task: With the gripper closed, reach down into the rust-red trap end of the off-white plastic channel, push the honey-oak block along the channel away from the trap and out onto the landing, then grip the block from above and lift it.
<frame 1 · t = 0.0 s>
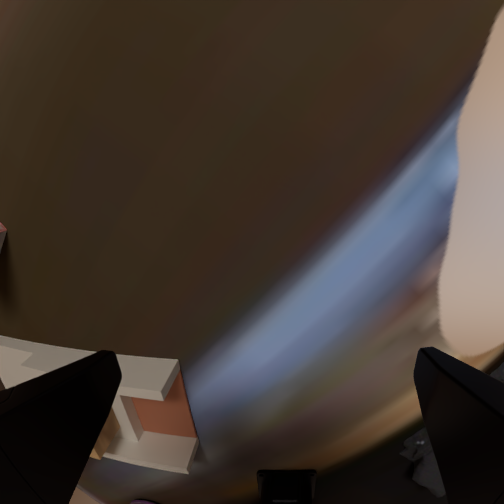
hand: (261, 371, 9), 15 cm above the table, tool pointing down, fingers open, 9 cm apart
trap channel: (101, 393, 29), on the table
oak block: (92, 405, 27), point 2 cm above the table, touching trap channel
dark slate chunk: (489, 414, 26), on the table
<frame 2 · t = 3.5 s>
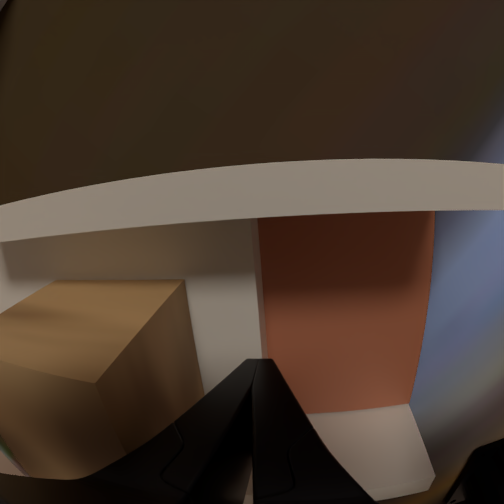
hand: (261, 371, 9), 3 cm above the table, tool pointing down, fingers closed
trap channel: (162, 322, 12), on the table
oak block: (128, 348, 10), point 2 cm above the table, touching gripper
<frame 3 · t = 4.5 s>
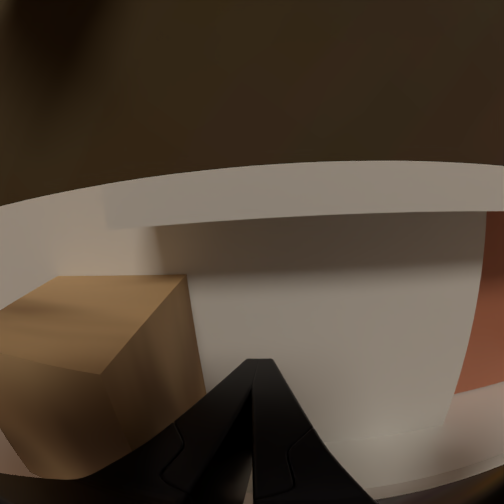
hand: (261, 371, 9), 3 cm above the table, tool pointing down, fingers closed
trap channel: (352, 317, 11), on the table
oak block: (129, 343, 10), point 2 cm above the table, touching gripper
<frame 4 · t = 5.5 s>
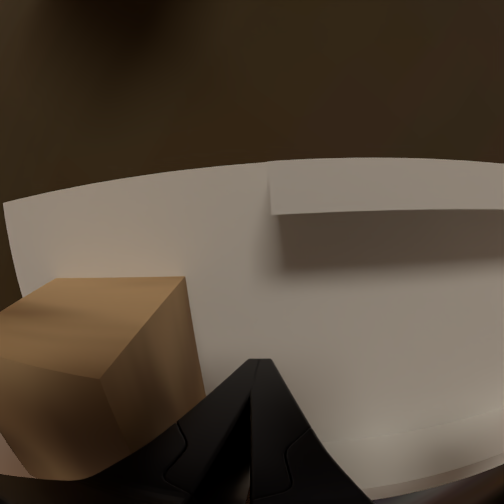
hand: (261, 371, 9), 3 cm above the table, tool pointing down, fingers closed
trap channel: (438, 308, 11), on the table
oak block: (128, 345, 10), point 2 cm above the table, touching gripper, trap channel
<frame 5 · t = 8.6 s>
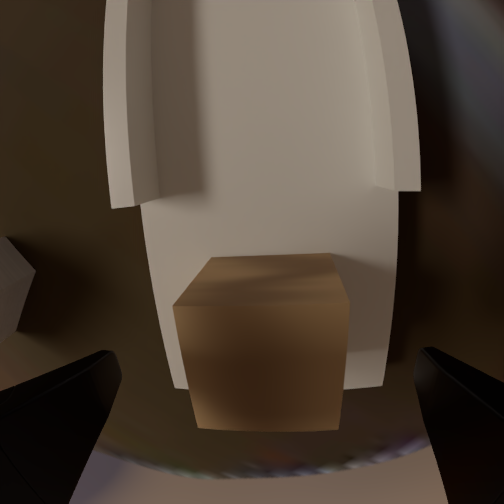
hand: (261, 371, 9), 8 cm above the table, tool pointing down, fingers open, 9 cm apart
trap channel: (258, 62, 13), on the table
grey boxy piece: (11, 285, 19), on the table
oak block: (272, 309, 14), point 2 cm above the table, touching trap channel
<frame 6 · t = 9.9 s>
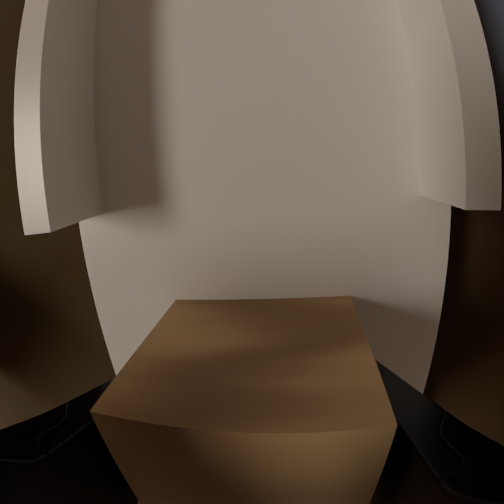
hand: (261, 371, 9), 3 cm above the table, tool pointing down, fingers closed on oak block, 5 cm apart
trap channel: (246, 20, 9), on the table
oak block: (265, 371, 10), point 2 cm above the table, touching gripper, trap channel
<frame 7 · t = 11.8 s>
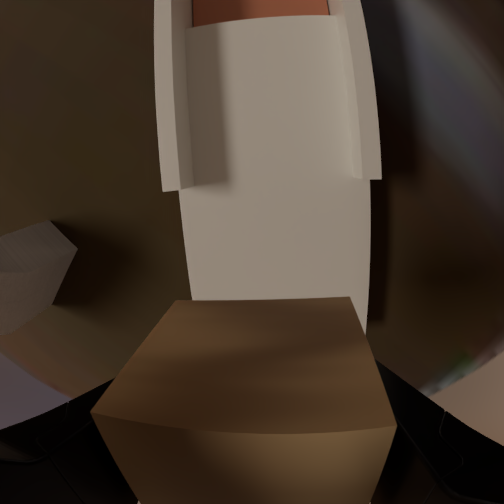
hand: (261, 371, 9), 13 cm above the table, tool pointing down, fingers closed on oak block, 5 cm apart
trap channel: (267, 84, 18), on the table
grey boxy piece: (50, 263, 24), on the table
oak block: (265, 371, 10), point 12 cm above the table, touching gripper
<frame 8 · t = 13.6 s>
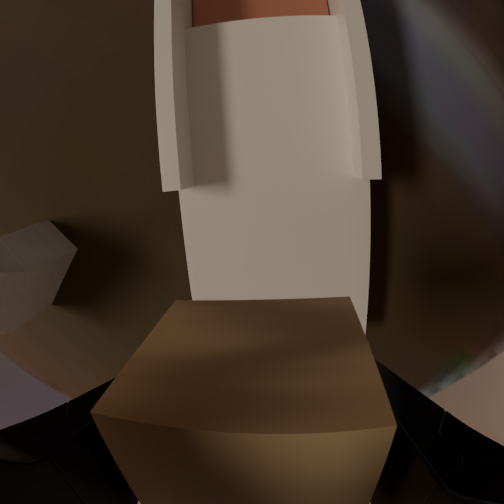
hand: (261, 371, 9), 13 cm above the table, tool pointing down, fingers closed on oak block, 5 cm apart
trap channel: (267, 84, 18), on the table
grey boxy piece: (50, 263, 24), on the table
oak block: (265, 371, 10), point 12 cm above the table, touching gripper
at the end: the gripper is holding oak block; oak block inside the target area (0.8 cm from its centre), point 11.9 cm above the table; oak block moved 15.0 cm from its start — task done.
